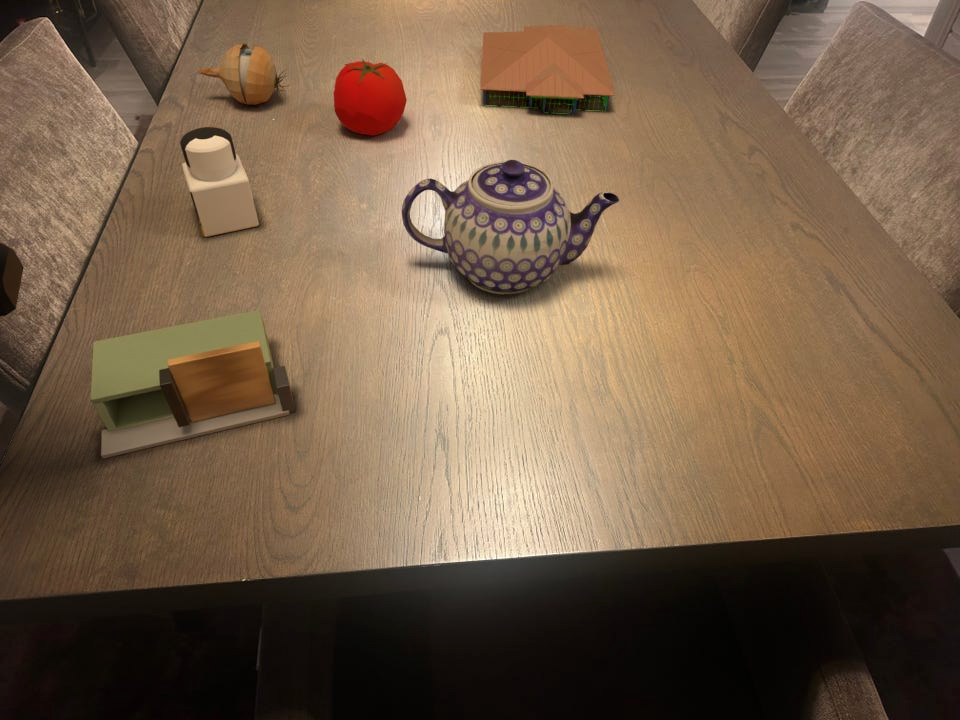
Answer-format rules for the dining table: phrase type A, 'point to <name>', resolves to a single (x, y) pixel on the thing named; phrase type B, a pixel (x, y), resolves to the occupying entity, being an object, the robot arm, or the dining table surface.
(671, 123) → the dining table surface
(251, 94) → the split yellow onion
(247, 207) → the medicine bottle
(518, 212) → the teapot
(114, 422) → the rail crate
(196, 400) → the sliding door
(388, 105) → the tomato
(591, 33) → the house
